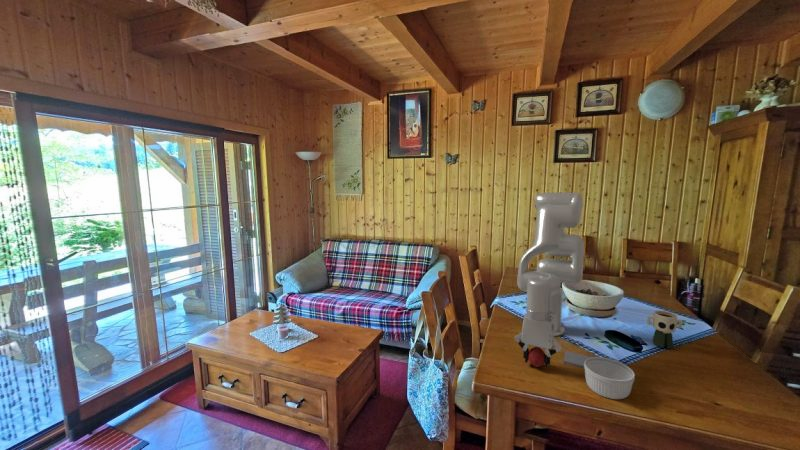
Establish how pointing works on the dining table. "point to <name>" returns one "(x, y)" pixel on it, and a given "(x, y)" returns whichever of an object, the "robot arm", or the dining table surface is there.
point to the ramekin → (608, 377)
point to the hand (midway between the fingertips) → (536, 362)
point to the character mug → (664, 327)
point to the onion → (536, 356)
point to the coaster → (575, 359)
